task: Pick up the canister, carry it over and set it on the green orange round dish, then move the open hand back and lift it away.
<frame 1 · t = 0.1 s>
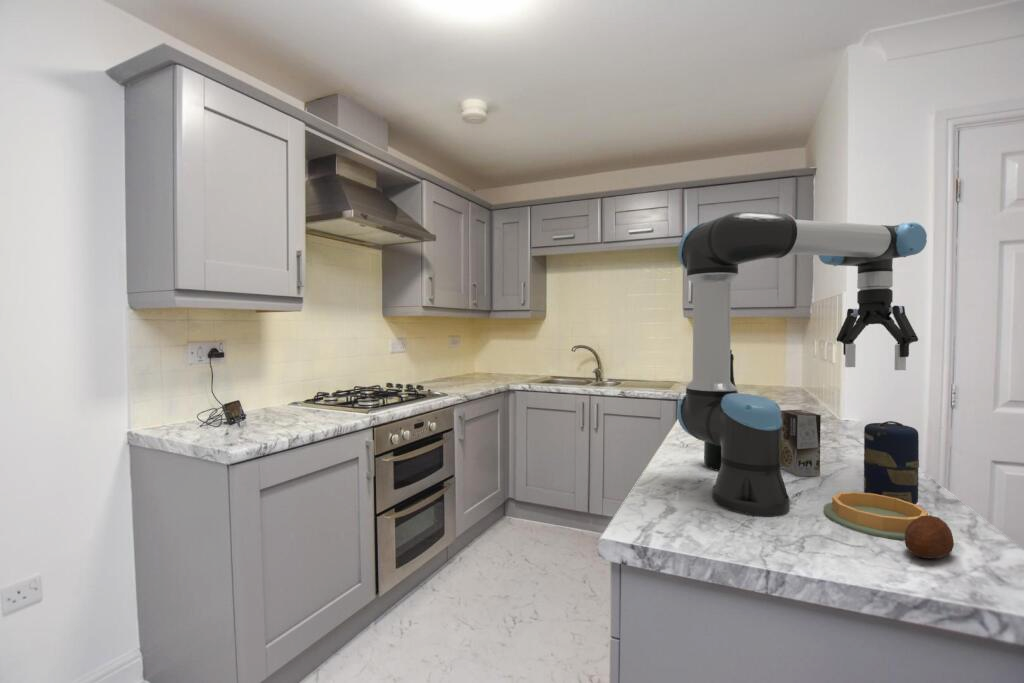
hand: (873, 368, 127), 28 cm above the counter, tool pointing down, fingers open, 13 cm apart
canister: (889, 502, 105), on the counter
green orange round dish: (877, 521, 95), on the counter
coffee box: (798, 472, 129), on the counter
dark wine bottle: (724, 467, 133), on the counter
potato: (927, 555, 81), on the counter
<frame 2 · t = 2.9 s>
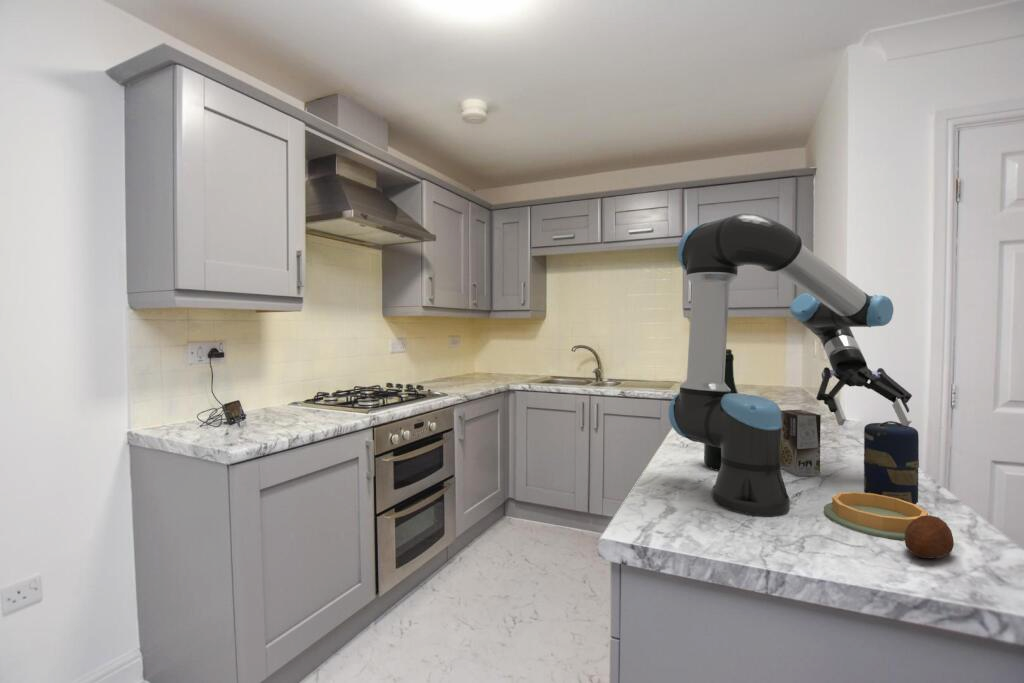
hand: (874, 423, 113), 16 cm above the counter, tool tilted 45°, fingers open, 13 cm apart
nothing on the counter moved.
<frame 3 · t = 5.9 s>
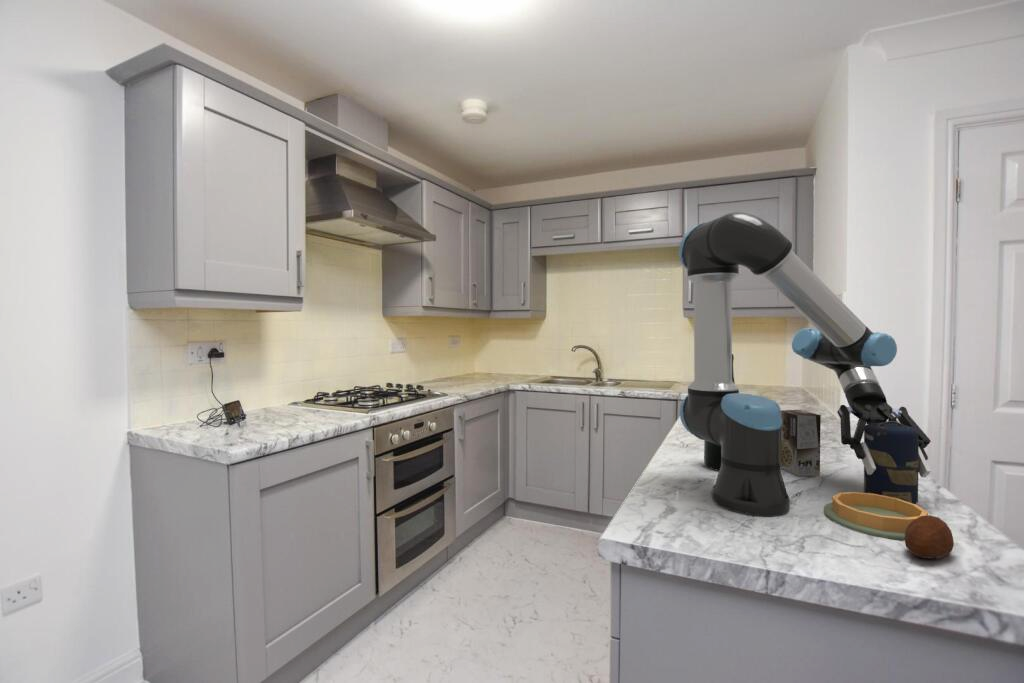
hand: (898, 472, 102), 7 cm above the counter, tool tilted 45°, fingers closed on canister, 9 cm apart
canister: (889, 502, 105), on the counter, touching gripper
everything else where it was.
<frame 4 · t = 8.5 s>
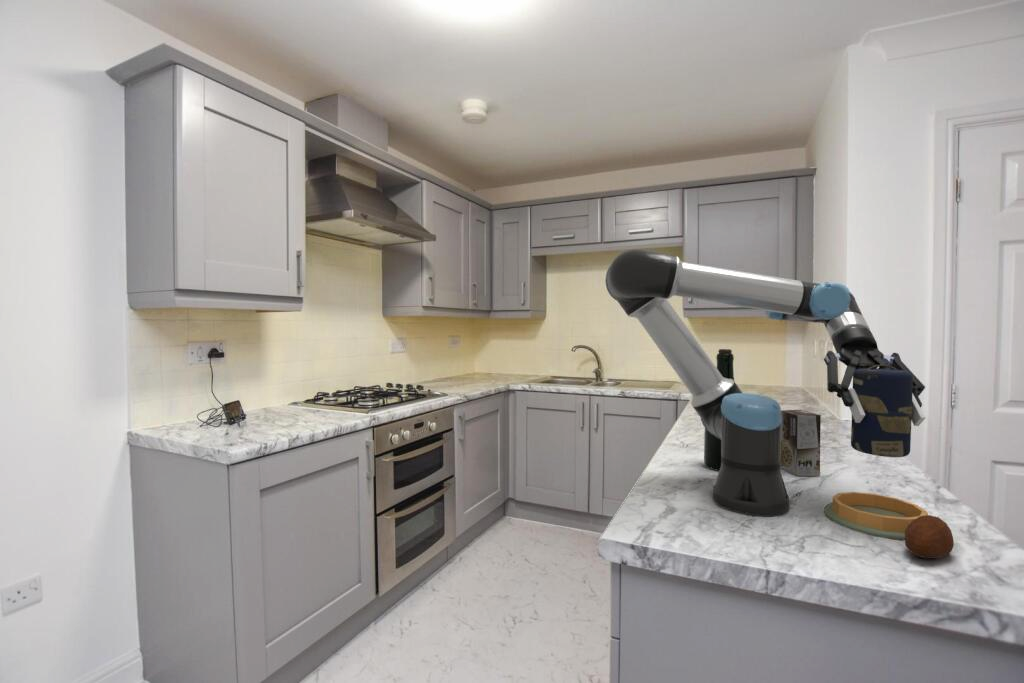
hand: (889, 420, 92), 21 cm above the counter, tool tilted 45°, fingers closed on canister, 9 cm apart
canister: (879, 455, 95), point 13 cm above the counter, touching gripper
everything else where it was.
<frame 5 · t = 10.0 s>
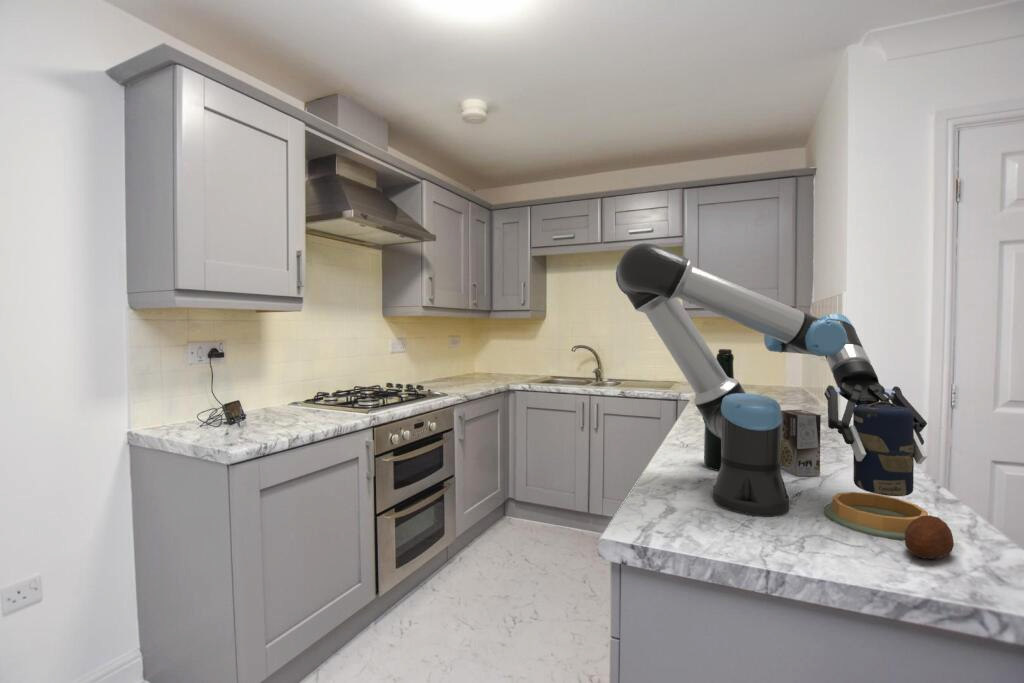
hand: (891, 458, 91), 13 cm above the counter, tool tilted 45°, fingers closed on canister, 9 cm apart
canister: (882, 492, 94), point 6 cm above the counter, touching gripper
everything else where it was.
when the fingers open (10 cm above the counter, at t = 11.3 s): canister drops 1 cm, resting on green orange round dish.
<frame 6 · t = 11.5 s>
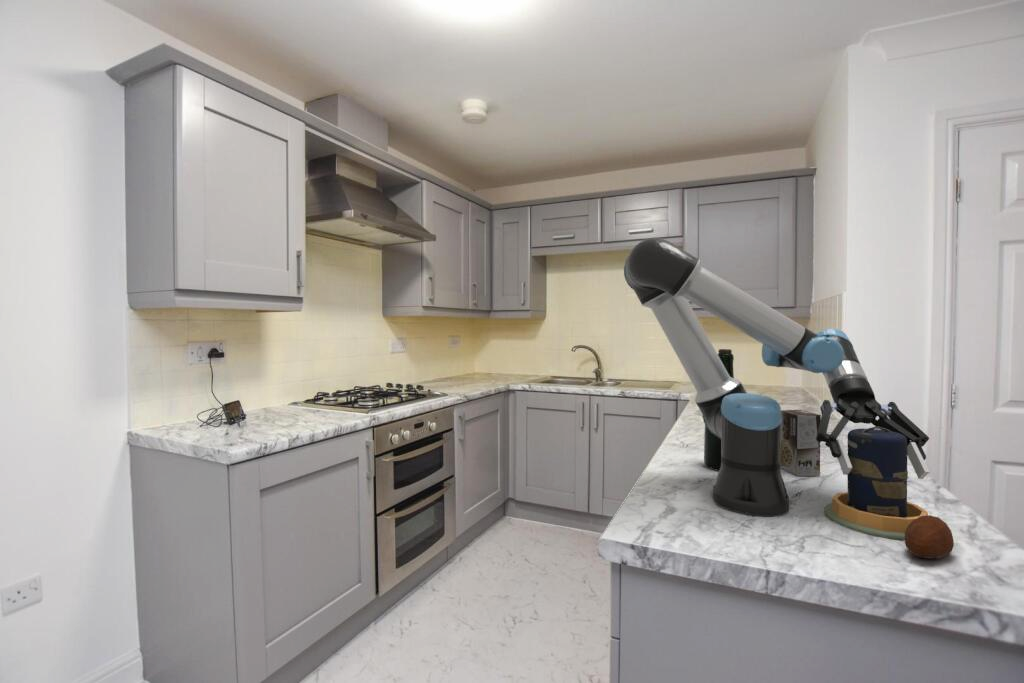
hand: (885, 473, 92), 10 cm above the counter, tool tilted 45°, fingers open, 12 cm apart
canister: (875, 517, 95), point 1 cm above the counter, touching green orange round dish
everything else where it was.
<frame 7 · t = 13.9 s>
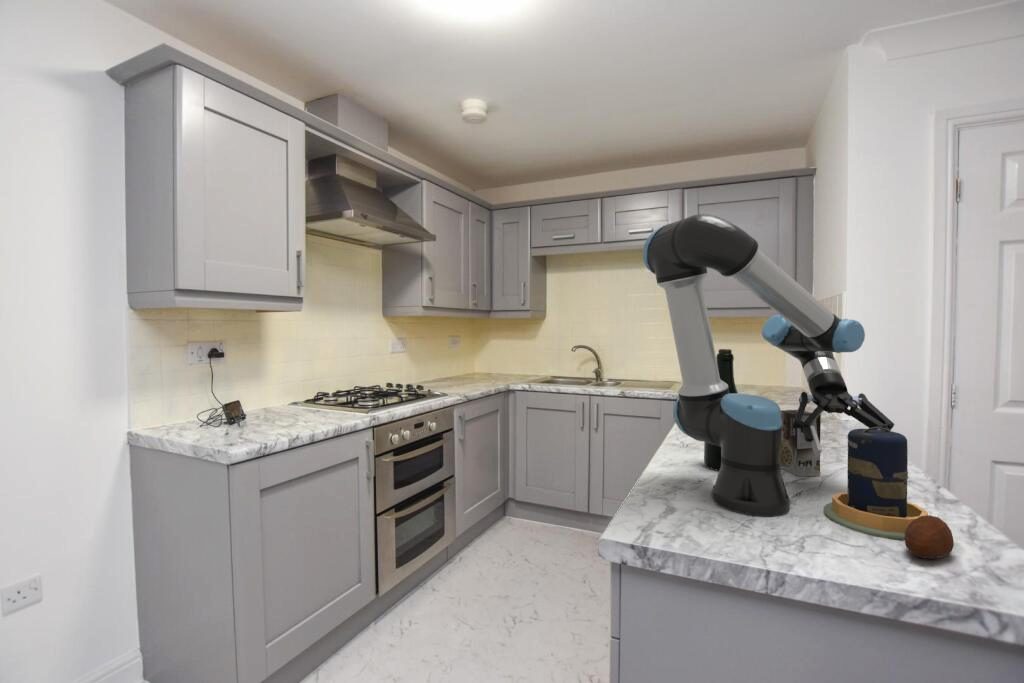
hand: (853, 455, 105), 11 cm above the counter, tool tilted 45°, fingers open, 13 cm apart
nothing on the counter moved.
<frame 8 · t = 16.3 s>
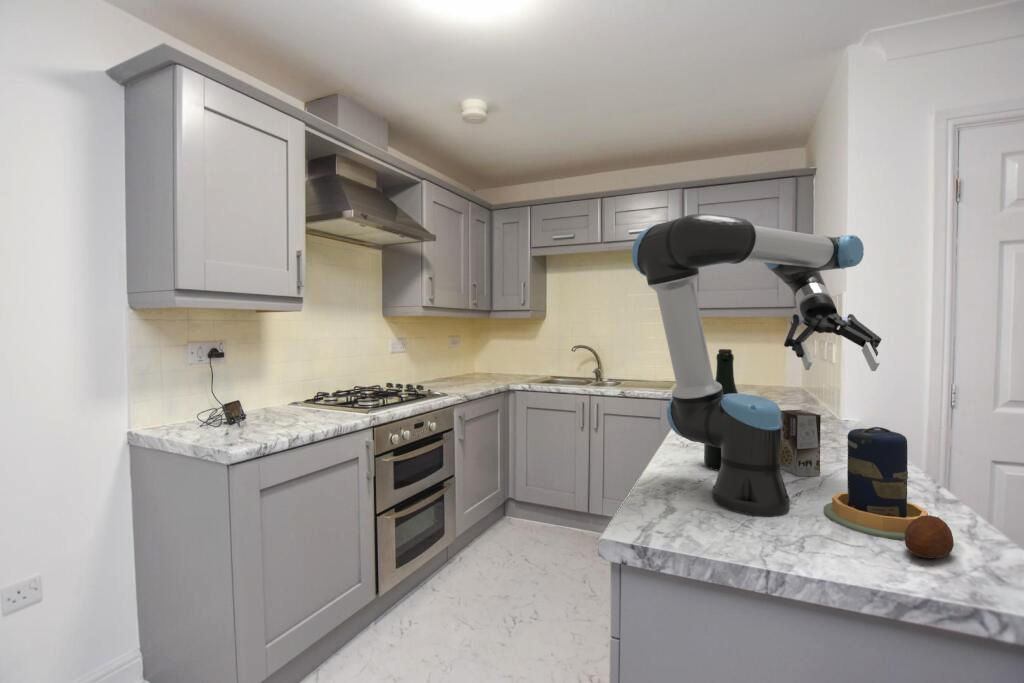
hand: (841, 366, 109), 30 cm above the counter, tool tilted 45°, fingers open, 13 cm apart
nothing on the counter moved.
at the end: canister 0.4 cm off-centre on the green orange round dish, point 0.6 cm above the green orange round dish's base; canister tilted 0°; the gripper is holding nothing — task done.
